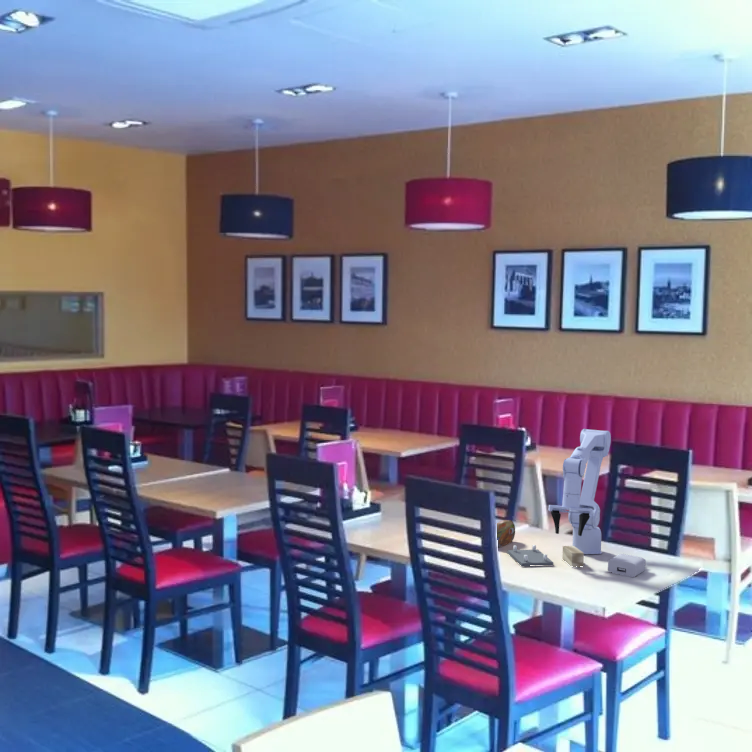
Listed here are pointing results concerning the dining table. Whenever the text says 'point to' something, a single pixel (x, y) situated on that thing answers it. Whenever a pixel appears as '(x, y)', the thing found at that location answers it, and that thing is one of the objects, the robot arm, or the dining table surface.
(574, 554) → the birch block
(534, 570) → the dining table surface
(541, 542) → the dining table surface
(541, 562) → the standoff plate
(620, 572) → the charger
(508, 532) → the tin
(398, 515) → the dining table surface
